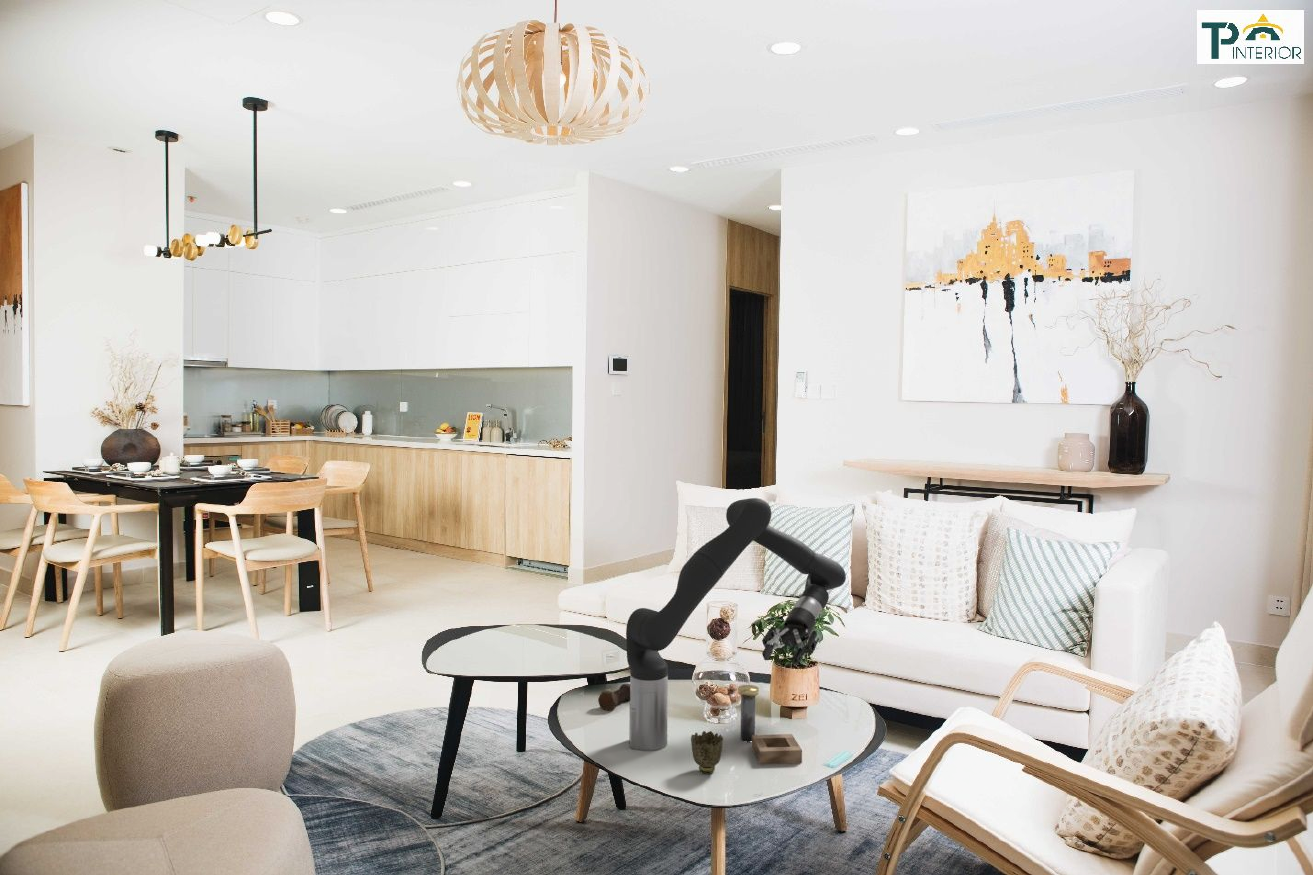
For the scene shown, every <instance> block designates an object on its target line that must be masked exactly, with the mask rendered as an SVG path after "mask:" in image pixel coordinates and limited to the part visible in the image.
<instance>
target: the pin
mask: <svg viewBox="0 0 1313 875" xmlns="http://www.w3.org/2000/svg"><path fill="white" fill-rule="evenodd" d="M759 691H760V689H759V687H758V686H756V685H752V684H742V685H739V686H738V687H737V694H738V695H740V741H741V742H744V741H747V742H746V743H751V742H750V741H752V735H756V696H758V695H759V694H760V693H759Z"/></svg>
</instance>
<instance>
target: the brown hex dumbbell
mask: <svg viewBox="0 0 1313 875" xmlns="http://www.w3.org/2000/svg"><path fill="white" fill-rule="evenodd" d="M597 701H598V705H599V707H600V708H601V710H603V711H606V712H613V711H614V710H615V709H616V707H617V705H618V703H620V702H623V701H626V702H627V701H628V702H629V701H630V683H626V682H625V683H622V684H621V685H620V687H619V688H618V689H616V690H614V691H609V690H602V692H601V693H600V694H599V696H598V699H597Z"/></svg>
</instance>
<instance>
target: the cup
mask: <svg viewBox="0 0 1313 875" xmlns="http://www.w3.org/2000/svg"><path fill="white" fill-rule="evenodd" d="M690 743H691V750H692V752H691V753H692V757H693V761H694V762H695V764H697V765H698V769H699V771H700V773H702V774H712V773H714V771H715V768H716V766H717V765H718V764H719V762H720V761H721V758H722V752H723V744H724V738H723V735H722V734H718V732H716V733H714V732H713V731H710V730H709V731H708V732H706V731H705V730H703V731H702V733H701V734H698V733H697V732H695V733H694V734H691V737H690Z"/></svg>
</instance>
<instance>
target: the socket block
mask: <svg viewBox="0 0 1313 875" xmlns="http://www.w3.org/2000/svg"><path fill="white" fill-rule="evenodd" d="M751 749H752V751H753V753H754V752H755V753H754V755H755V756H756V759H757V761H758V763H759V764H760V765H770V764H774V765H775V764H776V765H777V764H802V763H803V749H802V748H801V746H800V744H799V743H798V741H797V740H796V738H795V736H794V735H793V733H780V734H778V733H777V734H755V735H752V742H751Z"/></svg>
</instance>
